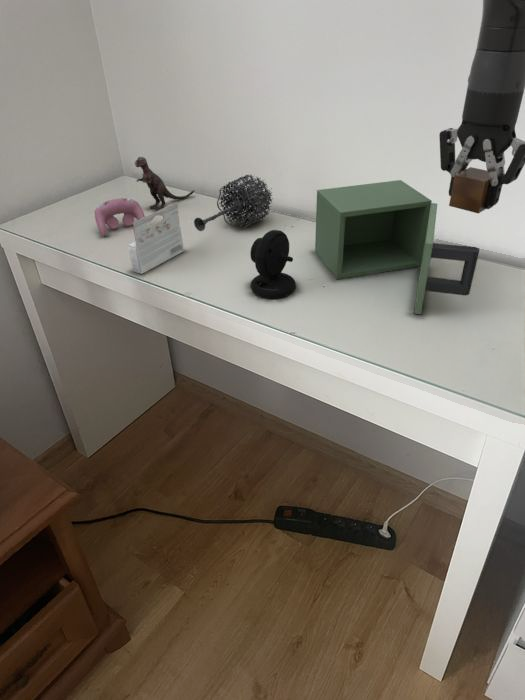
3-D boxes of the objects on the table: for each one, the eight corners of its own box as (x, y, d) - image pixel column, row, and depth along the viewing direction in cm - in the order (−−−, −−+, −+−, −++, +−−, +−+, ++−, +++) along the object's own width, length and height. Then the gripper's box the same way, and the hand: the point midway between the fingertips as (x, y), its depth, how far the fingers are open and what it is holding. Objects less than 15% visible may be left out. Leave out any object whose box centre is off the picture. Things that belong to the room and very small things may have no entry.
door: (464, 271, 90) (478, 206, 83) (464, 320, 78) (481, 248, 71) (420, 267, 92) (431, 202, 85) (414, 313, 80) (425, 243, 73)
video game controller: (145, 229, 113) (136, 196, 112) (149, 226, 109) (140, 192, 108) (99, 238, 110) (89, 204, 108) (101, 236, 106) (91, 201, 104)
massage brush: (183, 242, 104) (177, 195, 98) (251, 207, 118) (249, 164, 112) (220, 253, 99) (216, 205, 93) (286, 215, 113) (286, 171, 108)
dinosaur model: (130, 156, 110) (184, 145, 120) (135, 211, 117) (186, 196, 126) (142, 161, 108) (196, 149, 118) (147, 216, 115) (197, 200, 124)
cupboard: (421, 266, 92) (432, 200, 85) (336, 279, 89) (340, 212, 82) (393, 241, 101) (400, 179, 94) (314, 252, 98) (316, 189, 91)
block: (493, 204, 84) (500, 173, 81) (478, 213, 81) (485, 181, 78) (464, 197, 87) (470, 166, 84) (448, 206, 84) (454, 174, 81)
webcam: (268, 273, 92) (266, 218, 86) (304, 284, 88) (305, 228, 82) (241, 292, 87) (237, 235, 81) (278, 304, 83) (278, 246, 77)
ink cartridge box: (132, 271, 94) (122, 219, 88) (175, 249, 101) (168, 199, 95) (142, 275, 93) (132, 222, 87) (184, 252, 100) (178, 201, 94)
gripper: (559, 86, 72) (526, 207, 82) (462, 76, 80) (442, 187, 90) (536, 95, 68) (504, 221, 78) (436, 84, 76) (419, 199, 86)
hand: (471, 202), depth 84 cm, fingers closed on block, 5 cm apart
